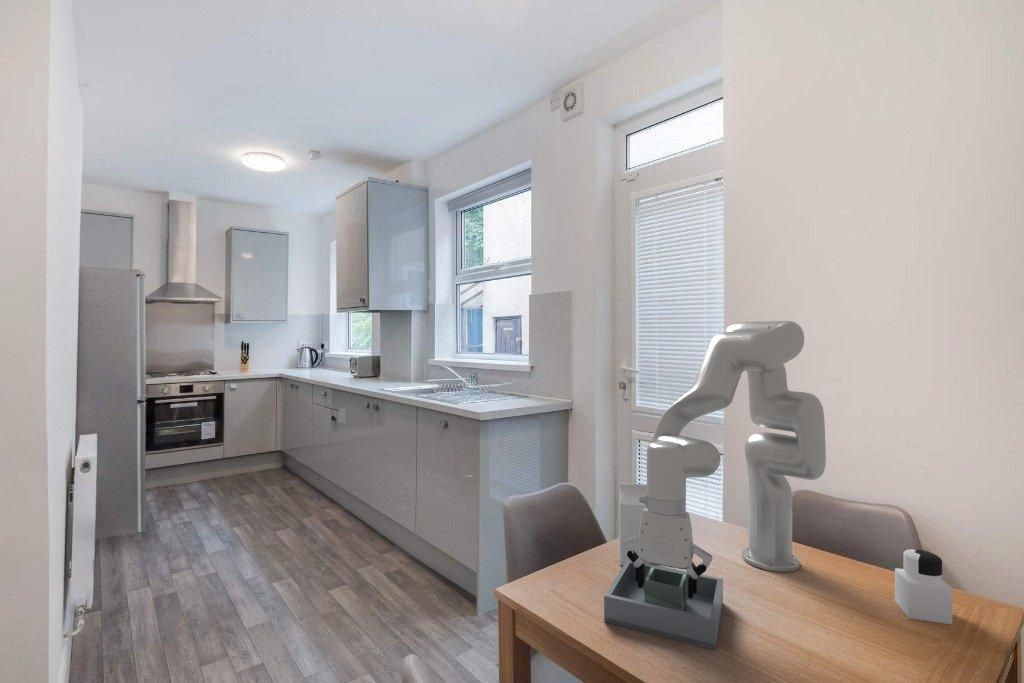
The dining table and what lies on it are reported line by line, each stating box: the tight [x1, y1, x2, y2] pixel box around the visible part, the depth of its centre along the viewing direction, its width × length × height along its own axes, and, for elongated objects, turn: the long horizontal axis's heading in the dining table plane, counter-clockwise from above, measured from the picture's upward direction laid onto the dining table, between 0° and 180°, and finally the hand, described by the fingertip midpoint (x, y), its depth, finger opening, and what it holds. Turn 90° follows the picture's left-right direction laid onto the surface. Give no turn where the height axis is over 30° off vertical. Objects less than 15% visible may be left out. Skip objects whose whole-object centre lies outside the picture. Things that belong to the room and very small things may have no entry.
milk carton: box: [619, 482, 651, 566], centre depth 125 cm, size 7×7×19 cm
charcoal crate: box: [603, 560, 724, 651], centre depth 101 cm, size 18×20×5 cm
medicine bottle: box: [894, 548, 953, 626], centre depth 101 cm, size 7×7×12 cm
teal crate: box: [644, 567, 687, 611], centre depth 101 cm, size 7×7×6 cm
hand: (665, 590), depth 101 cm, fingers open, 9 cm apart
